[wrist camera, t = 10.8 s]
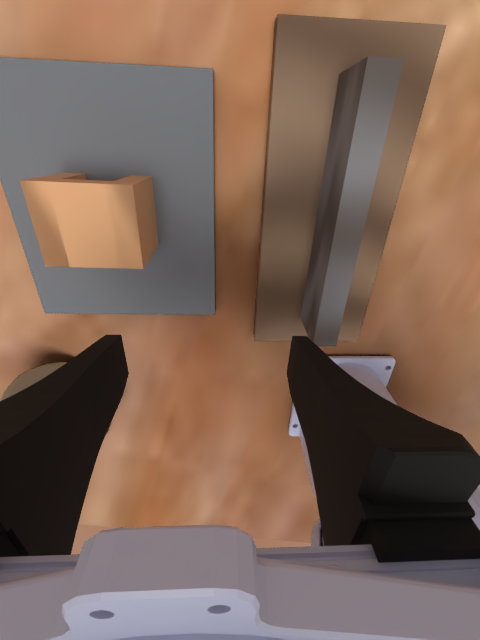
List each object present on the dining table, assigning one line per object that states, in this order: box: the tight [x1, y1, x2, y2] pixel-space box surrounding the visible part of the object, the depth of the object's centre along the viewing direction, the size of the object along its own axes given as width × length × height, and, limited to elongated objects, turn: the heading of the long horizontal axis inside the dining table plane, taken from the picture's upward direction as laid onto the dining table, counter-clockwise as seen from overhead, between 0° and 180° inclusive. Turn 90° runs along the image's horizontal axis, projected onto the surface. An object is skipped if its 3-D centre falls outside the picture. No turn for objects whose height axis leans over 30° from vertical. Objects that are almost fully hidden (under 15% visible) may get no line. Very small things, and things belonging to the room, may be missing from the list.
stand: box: [254, 14, 446, 346], centre depth 17 cm, size 18×8×4 cm, turn 178°
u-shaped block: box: [20, 173, 159, 269], centre depth 16 cm, size 4×5×4 cm
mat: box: [0, 57, 215, 315], centre depth 18 cm, size 14×12×1 cm
